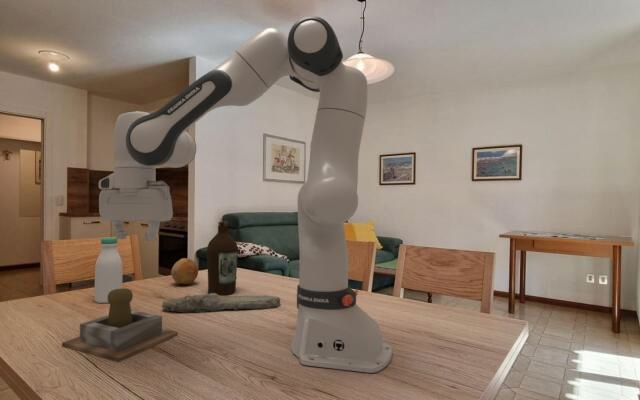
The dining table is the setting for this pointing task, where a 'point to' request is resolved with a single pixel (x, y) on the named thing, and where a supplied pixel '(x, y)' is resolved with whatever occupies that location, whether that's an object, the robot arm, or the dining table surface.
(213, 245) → the olive oil
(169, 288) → the dining table surface
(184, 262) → the onion
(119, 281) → the milk bottle
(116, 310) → the cork
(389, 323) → the dining table surface
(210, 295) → the long grey stone
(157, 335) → the socket block
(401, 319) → the dining table surface
